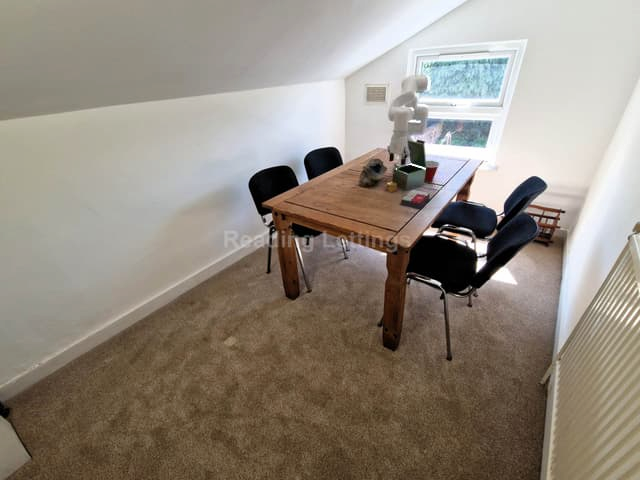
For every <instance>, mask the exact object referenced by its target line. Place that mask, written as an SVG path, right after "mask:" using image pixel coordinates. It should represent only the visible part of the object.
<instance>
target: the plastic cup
mask: <svg viewBox="0 0 640 480" xmlns="http://www.w3.org/2000/svg"><path fill="white" fill-rule="evenodd" d="M426 166H427V168H425V169H426V172H425V179H424V183H432V182H433V181H434V178H435V176H436V173H437V170H438V168H439V167H440V162H438V161H436V160H426Z"/></svg>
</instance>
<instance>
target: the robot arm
mask: <svg viewBox="0 0 640 480" xmlns="http://www.w3.org/2000/svg"><path fill="white" fill-rule="evenodd" d="M430 79H431V78H430V77H429V76H428V75H427V74H415V75H408V76H406V77H405V78H404V79H403V80H402V81H401V91H400V94H399V95H397V96H396V97H395V98H394V99H392V101H391V103H390V104H389V105H390V106H389V109H388V113H387V117H388V120H389V121H390V122H393V130H392V135H391V138H390V142H389V145H387V147H386V148H387V152H388V155H389V159H388V162H394V160H395V161H396V163H395V166H396V167H397V168H398V167H402V166H405V165H409V164H411V162H410V155H409V154H410V151H409V148H408V140H410V141H414V138H413V137H414V136H415V137H422V136H425V134H426V132H427V127H428V126H427V125H428V119H429V106H428V105H426V104H419V94H427V93H428V92H429V90H430V86H431V80H430ZM414 142H415V141H414ZM395 155H398V156H397V157H396V158H395Z"/></svg>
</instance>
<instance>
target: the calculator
mask: <svg viewBox="0 0 640 480" xmlns="http://www.w3.org/2000/svg"><path fill="white" fill-rule="evenodd" d="M430 196H431V193H430V192H427V191H421V190H415V189H410V191H409V192H408V193H407V194H406V195H405V196H404V197H403V198H402V199H401V200H400V205H401V206H406V207H411V208H414V209H419V210H420V209H421V208H422V207H423V206H424V205H425V204H426V203H427V202H428V201H429V200H430Z"/></svg>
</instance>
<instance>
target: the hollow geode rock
mask: <svg viewBox="0 0 640 480" xmlns="http://www.w3.org/2000/svg"><path fill="white" fill-rule="evenodd" d="M387 171H388V167H387V166H386V165H384V161H382V160H381V159H380V158H372V159H369V161H368V163H367V164H365V165H364V166H362V170H361V173H360V174H359V180H358V181H359V183H360V185H361V186H362V187H367V186H370V187H372V186H373V184H374V183H375V182H376V181H380V179H382V178H383V176H384V174H385V173H386V172H387Z"/></svg>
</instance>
